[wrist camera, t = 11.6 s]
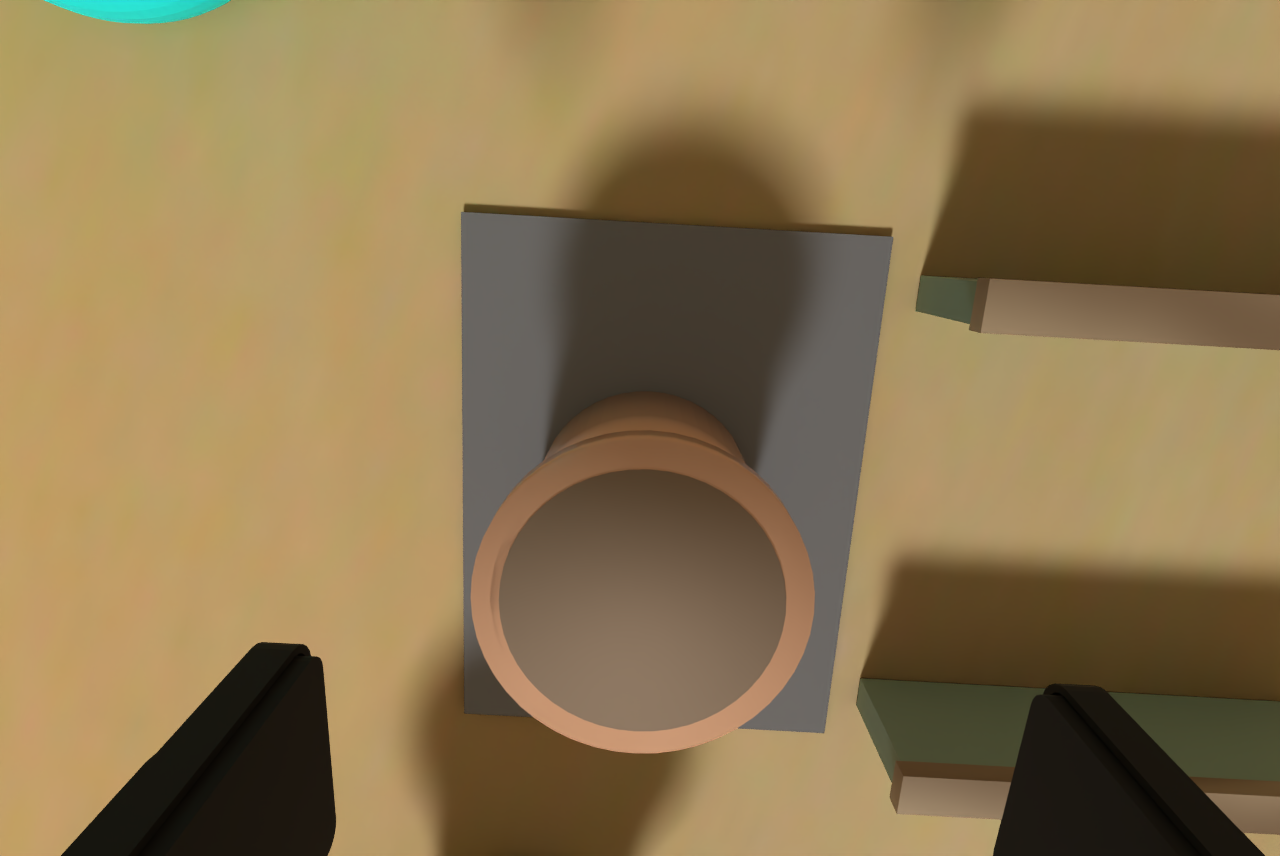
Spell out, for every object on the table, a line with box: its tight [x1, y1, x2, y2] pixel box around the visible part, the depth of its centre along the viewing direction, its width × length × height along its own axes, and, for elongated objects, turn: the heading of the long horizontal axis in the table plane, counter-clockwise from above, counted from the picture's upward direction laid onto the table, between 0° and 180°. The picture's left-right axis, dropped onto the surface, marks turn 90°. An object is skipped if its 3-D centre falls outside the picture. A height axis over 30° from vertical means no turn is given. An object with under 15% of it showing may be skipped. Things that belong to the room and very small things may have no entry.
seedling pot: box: [471, 391, 815, 753], centre depth 18 cm, size 7×7×7 cm
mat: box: [461, 212, 893, 733], centre depth 22 cm, size 16×12×1 cm
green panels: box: [856, 275, 1280, 835], centre depth 20 cm, size 14×14×5 cm
